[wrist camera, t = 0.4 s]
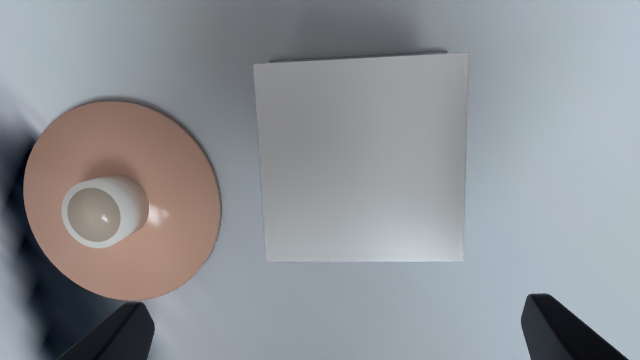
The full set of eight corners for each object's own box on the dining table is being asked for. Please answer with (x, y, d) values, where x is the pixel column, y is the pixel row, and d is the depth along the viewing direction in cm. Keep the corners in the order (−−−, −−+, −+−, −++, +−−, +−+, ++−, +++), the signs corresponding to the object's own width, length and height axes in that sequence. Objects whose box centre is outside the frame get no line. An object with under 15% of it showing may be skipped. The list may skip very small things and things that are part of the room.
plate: (157, 331, 27) (152, 336, 26) (-1, 222, 26) (-9, 224, 26) (260, 182, 24) (258, 184, 24) (88, 58, 24) (81, 57, 23)
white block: (422, 204, 23) (463, 261, 14) (299, 206, 24) (266, 261, 15) (423, 76, 22) (468, 52, 13) (293, 82, 23) (252, 64, 14)
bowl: (129, 247, 25) (106, 261, 23) (78, 211, 25) (49, 222, 23) (160, 198, 24) (139, 208, 22) (108, 161, 24) (80, 167, 22)
